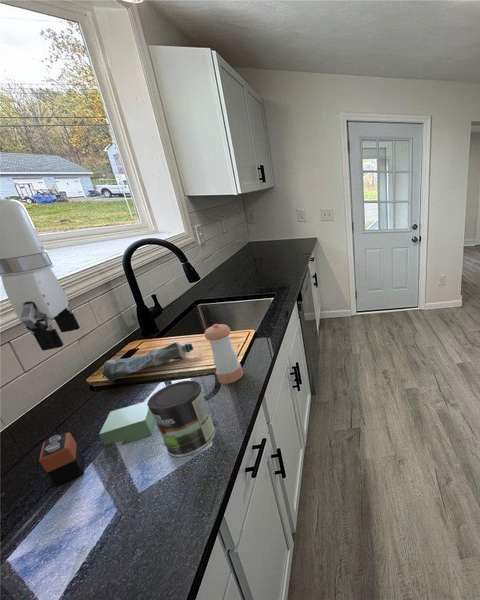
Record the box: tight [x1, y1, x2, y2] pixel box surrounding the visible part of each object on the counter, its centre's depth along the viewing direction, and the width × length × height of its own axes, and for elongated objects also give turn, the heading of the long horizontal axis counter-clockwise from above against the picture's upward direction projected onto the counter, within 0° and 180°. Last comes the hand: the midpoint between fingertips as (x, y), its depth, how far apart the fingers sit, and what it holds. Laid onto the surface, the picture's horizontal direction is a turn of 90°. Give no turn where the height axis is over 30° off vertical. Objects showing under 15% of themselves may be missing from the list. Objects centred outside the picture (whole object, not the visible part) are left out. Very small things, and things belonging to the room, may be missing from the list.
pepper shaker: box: [204, 323, 244, 385], centre depth 98 cm, size 7×7×19 cm
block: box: [98, 400, 156, 447], centre depth 81 cm, size 9×9×5 cm
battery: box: [39, 431, 86, 488], centre depth 68 cm, size 4×7×10 cm, turn 43°
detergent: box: [102, 341, 194, 383], centre depth 109 cm, size 13×7×25 cm
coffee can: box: [147, 380, 217, 458], centre depth 75 cm, size 10×10×14 cm
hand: (62, 338), depth 69 cm, fingers open, 9 cm apart
